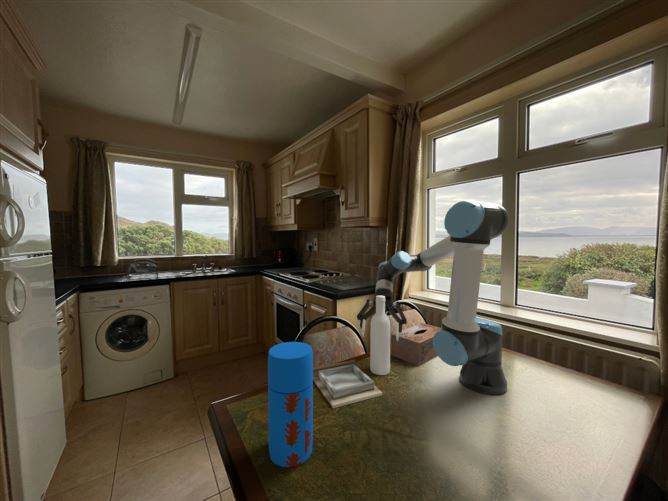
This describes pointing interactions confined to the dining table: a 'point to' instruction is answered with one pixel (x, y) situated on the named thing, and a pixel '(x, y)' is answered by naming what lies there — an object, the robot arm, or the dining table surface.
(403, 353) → the tissue box cover
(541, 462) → the dining table surface
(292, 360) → the thermos
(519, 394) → the dining table surface
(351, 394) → the tray
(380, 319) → the bottle
